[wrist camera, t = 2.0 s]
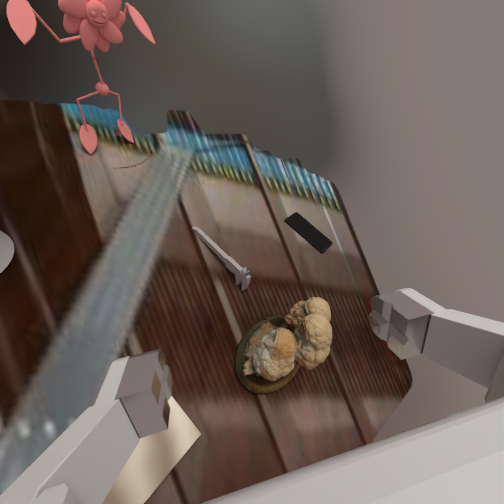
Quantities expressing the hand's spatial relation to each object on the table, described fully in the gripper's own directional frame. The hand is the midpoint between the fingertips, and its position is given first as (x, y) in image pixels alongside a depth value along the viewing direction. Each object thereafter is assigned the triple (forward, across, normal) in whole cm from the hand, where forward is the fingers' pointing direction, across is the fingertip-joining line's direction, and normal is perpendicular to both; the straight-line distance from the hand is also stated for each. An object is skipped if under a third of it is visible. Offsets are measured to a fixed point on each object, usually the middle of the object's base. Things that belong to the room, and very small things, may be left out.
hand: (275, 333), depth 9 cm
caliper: (+45, +1, +16) cm, 48 cm away
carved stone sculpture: (+28, -6, +30) cm, 41 cm away
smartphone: (+56, -27, +19) cm, 65 cm away
